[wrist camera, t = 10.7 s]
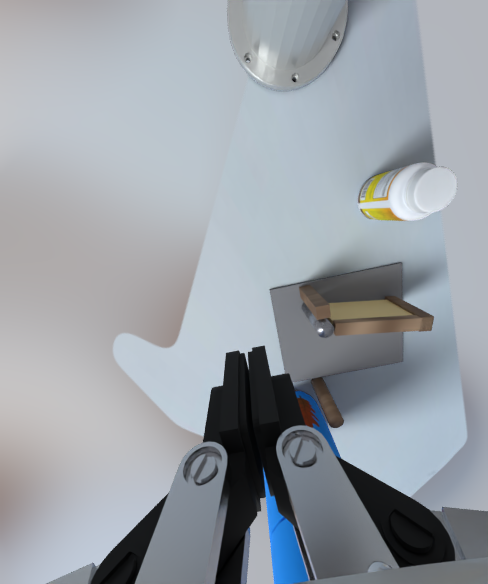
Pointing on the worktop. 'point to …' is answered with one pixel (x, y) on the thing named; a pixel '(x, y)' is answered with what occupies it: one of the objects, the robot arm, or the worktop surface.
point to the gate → (370, 318)
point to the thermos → (280, 529)
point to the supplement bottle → (407, 192)
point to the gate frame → (335, 349)
